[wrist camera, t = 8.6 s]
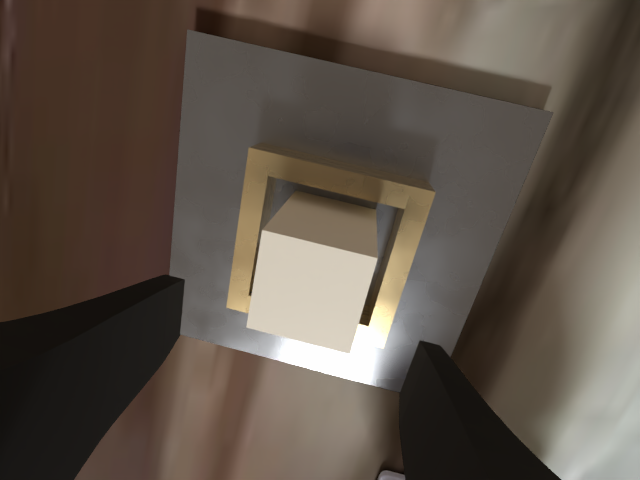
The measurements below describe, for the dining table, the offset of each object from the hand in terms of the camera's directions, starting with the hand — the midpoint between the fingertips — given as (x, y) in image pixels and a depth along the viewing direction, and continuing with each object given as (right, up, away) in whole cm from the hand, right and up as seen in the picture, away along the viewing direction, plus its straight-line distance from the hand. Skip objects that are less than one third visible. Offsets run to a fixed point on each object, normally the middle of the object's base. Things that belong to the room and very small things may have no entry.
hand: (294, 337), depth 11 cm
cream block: (+1, +3, +8) cm, 8 cm away
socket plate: (+1, +3, +9) cm, 9 cm away
